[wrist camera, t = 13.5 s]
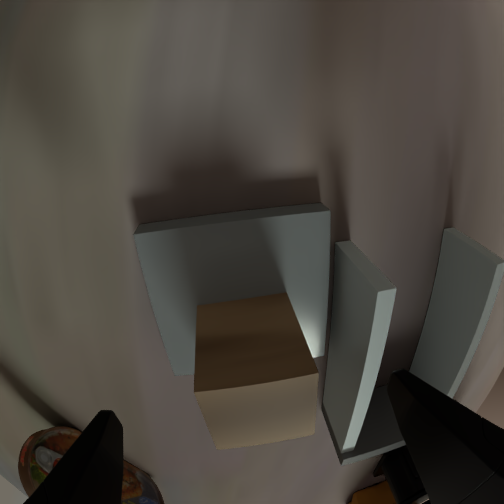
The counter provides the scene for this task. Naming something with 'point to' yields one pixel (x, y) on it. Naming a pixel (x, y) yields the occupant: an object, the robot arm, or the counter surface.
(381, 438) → the grey open rectangular frame
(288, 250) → the tile
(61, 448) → the tin
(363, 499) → the coffee package
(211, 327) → the block
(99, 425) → the robot arm
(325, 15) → the counter surface
